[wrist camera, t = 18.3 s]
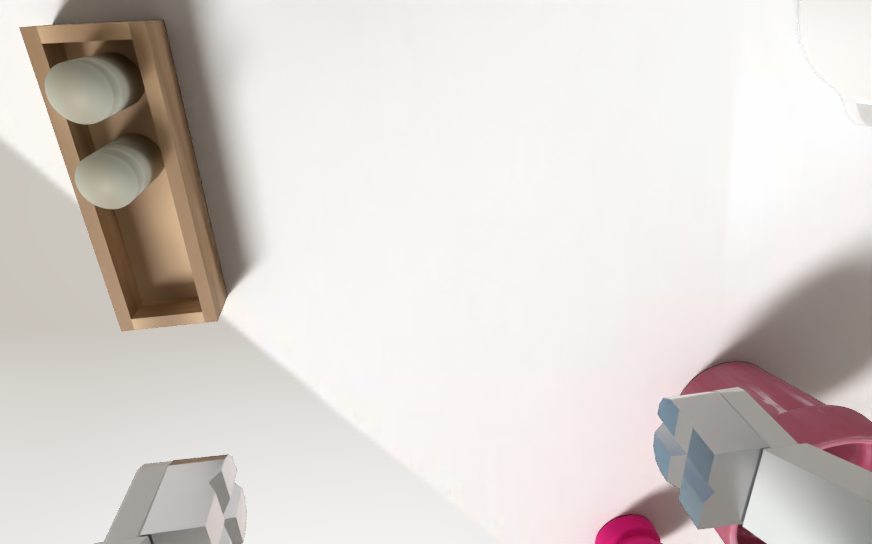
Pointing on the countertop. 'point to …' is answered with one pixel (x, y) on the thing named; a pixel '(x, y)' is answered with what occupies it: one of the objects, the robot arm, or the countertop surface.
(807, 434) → the plant pot
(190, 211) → the teak tray
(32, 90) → the countertop surface
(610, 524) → the pepper mill
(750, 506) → the robot arm
